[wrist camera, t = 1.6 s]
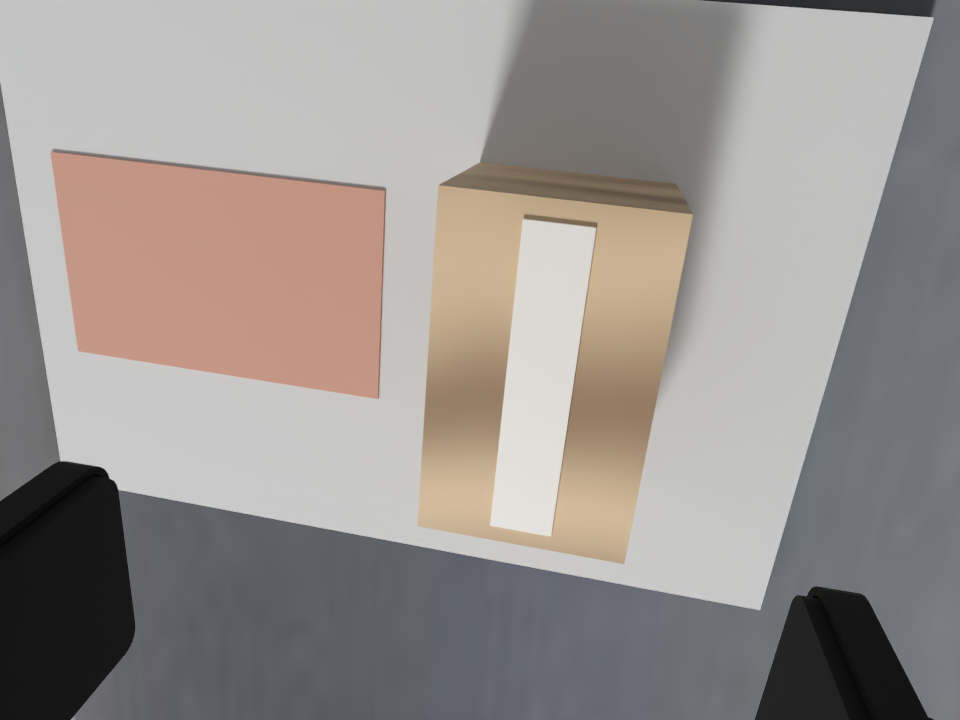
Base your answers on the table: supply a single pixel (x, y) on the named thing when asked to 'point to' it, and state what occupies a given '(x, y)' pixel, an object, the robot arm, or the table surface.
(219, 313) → the mat
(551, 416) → the card box
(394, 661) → the table surface
